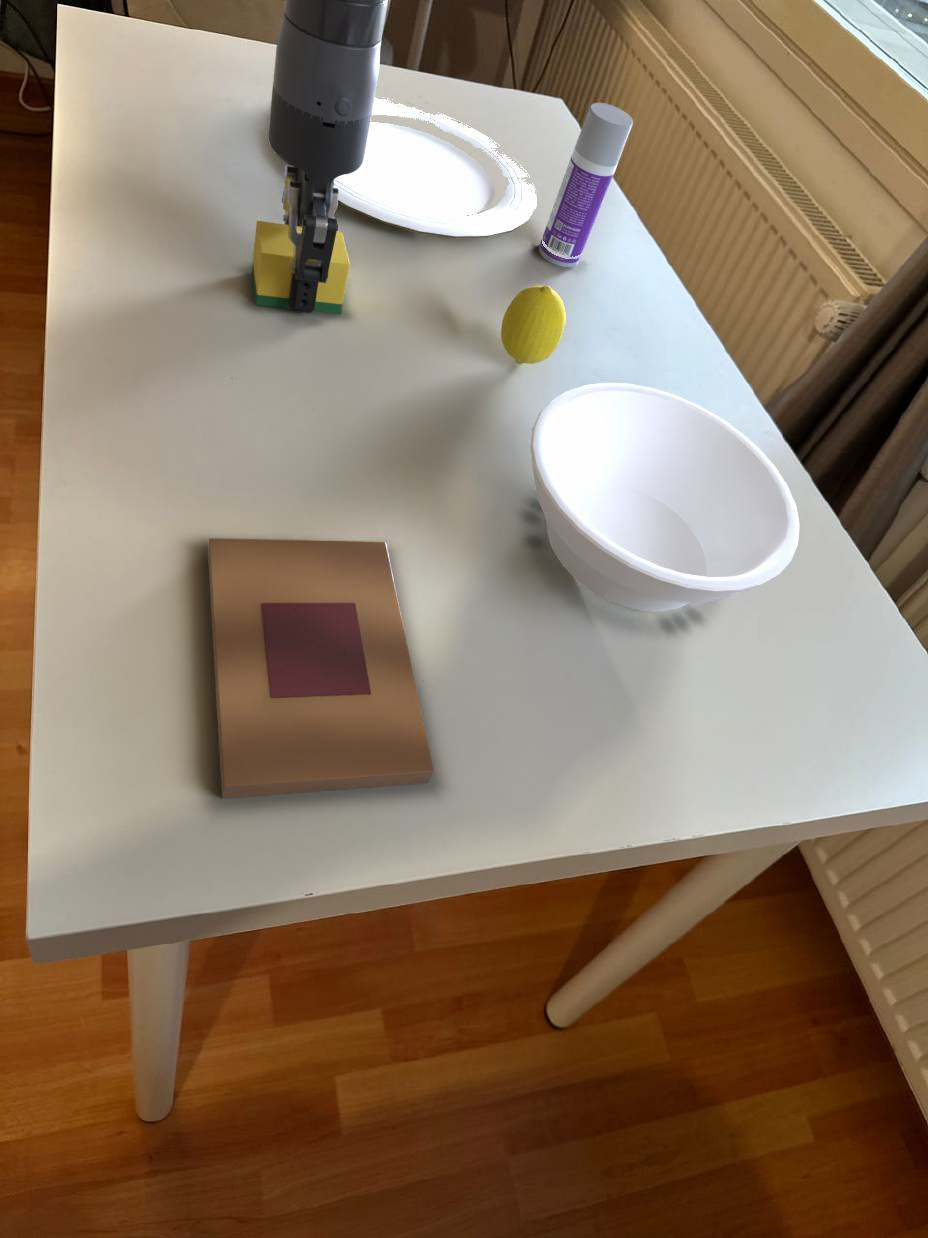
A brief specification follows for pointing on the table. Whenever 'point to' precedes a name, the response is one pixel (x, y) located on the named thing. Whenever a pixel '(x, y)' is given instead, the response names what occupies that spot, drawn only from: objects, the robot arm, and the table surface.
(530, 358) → the lemon
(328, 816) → the table surface
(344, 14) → the robot arm
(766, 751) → the table surface
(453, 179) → the plate
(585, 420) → the bowl
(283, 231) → the sponge
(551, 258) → the container
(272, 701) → the board
